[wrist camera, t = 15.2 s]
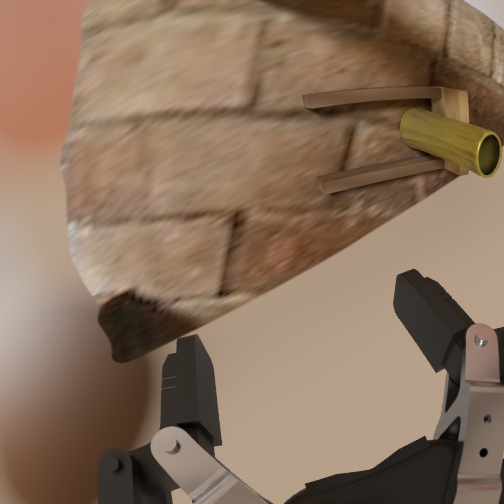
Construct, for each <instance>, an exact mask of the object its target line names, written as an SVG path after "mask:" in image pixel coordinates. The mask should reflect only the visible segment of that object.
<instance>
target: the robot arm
mask: <svg viewBox="0 0 504 504" xmlns="http://www.w3.org/2000/svg"><path fill="white" fill-rule="evenodd" d="M393 305H394V310H395V313H396V315H397V316H398V318H399V319H400V321H401V322H402V323H403V325H404V326H405V328H406V329H407V330H408V332H409V333H410V335H411V336H412V338H413V339H414V341H415V342H416V343H417V345H418V346H419V348H420V349H421V351H422V352H423V354H424V355H425V357H426V358H427V360H428V361H429V363H430V364H431V366H432V367H433V369H434V370H435V372H436V373H437V372H439V371H440V370H442V369H444V368H445V369H446V371H447V375H446V381H445V390H444V398H443V405H442V412H441V416H440V420H439V422H438V425H437V427H436V430H435V434H434V437H433V440H428V441H427V439H426V437H425V436H424V437H422V438H420V439H418V440H416V441H414V442H412V443H410V444H408V445H406V446H404V447H402V448H400V449H398V450H397V451H396V452H394V453H393V454H392V455H390V456H389V457H388V458H386V459H385V460H384V461H382V462H381V463H380V464H378V465H377V466H376V467H374V468H372V469H370V470H365V471H358V472H350V473H342V474H336V475H333V476H329V477H326V478H323V479H320V480H316V481H313V482H309V483H306V484H305V486H306V488H305V489H303V490H301V491H299V492H298V493H297V494H295V495H293V496H292V497H291V498H290V499H288V500H287V501H286V502H285V503H284V504H504V459H503V452H504V327H501V328H497V329H492V328H491V327H490V326H488V325H486V324H482V323H478V324H475V323H474V322H473V321H472V319H471V318H470V317H469V316H468V315H467V314H466V313H465V311H464V310H463V309H462V308H461V307H460V306H459V305H458V304H457V302H456V301H455V300H454V299H452V297H451V296H450V295H449V294H448V293H446V290H445V289H444V288H443V287H442V286H441V285H440V284H439V283H438V282H436V281H434V280H432V279H430V278H429V277H426V278H424V277H423V276H422V275H421V274H420V273H419V272H418V271H417V270H416V269H412V270H409V271H407V272H404V273H401V274H398V275H397V278H396V285H395V294H394V302H393ZM162 379H163V380H162V391H161V424H160V430H159V431H158V432H157V433H156V434H155V436H154V437H153V439H152V441H151V442H150V443H149V444H147V445H145V446H143V447H140V448H137V449H135V450H132V451H130V452H125V451H124V450H122V449H119V448H113V449H109V450H107V451H106V452H104V453H103V454H102V456H101V457H100V460H99V463H98V504H173V503H172V496H171V491H173V490H175V489H178V488H182V489H183V491H184V492H185V493H186V494H187V495H188V496H189V497H190V498H191V499H192V501H193V502H192V503H193V504H273V503H272V502H270V501H269V500H267V499H266V498H265V497H263V496H262V495H261V494H259V493H258V492H256V491H255V490H254V489H252V488H251V487H250V486H248V485H247V484H246V483H244V482H243V481H242V480H241V479H240V478H238V477H237V476H236V475H235V474H233V473H232V472H231V471H230V470H229V469H228V468H226V467H225V466H224V465H223V464H222V463H221V462H220V461H218V460H217V459H216V458H215V453H214V446H220V445H222V440H221V431H220V422H219V414H218V405H217V395H216V386H215V376H214V368H213V364H212V361H211V359H210V357H209V355H208V353H207V351H206V349H205V347H204V346H203V344H202V342H201V340H200V338H199V336H198V335H197V334H195V335H191V336H187V337H182V338H178V339H177V350H176V353H174V354H169V355H168V356H167V358H166V360H165V363H164V365H163V369H162Z"/></svg>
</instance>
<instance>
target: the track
mask: <svg viewBox="0 0 504 504" xmlns="http://www.w3.org/2000/svg"><path fill="white" fill-rule="evenodd" d="M302 97H303V102H304V107H305V108H311V109H313V108H319V107H326V106H333V105H341V104H349V103H358V102H368V101H380V100H394V99H416V98H431V105H432V113H435V114H438V115H440V116H443V117H446V118H450V119H454V120H458V121H462V122H465V123H468V124H469V108H468V94H467V91H464V90H458V89H452V88H445V87H433V86H400V87H376V88H361V89H349V90H339V91H331V92H322V93H315V94H308V95H302ZM442 168H445V169H447V170H449V171H451V172H453V173H455V174H457V175H459V176H462V175H466V174H468V171H469V170H468V169H466V168H464V167H462V166H459V165H457V164H455V163H452V162H450V161H447V160H445V159H442V158H440V157H437V156H435V155H432V154H431V155H425V156H419V157H413V158H407V159H402V160H396V161H391V162H385V163H380V164H375V165H370V166H365V167H360V168H355V169H351V170H346V171H341V172H337V173H332V174H328V175H323V176H319V177H316V178H317V186H318V189H320V190H321V191H322V192H323V193H324V194H329V193H333V192H338V191H342V190H346V189H350V188H354V187H359V186H363V185H367V184H372V183H376V182H381V181H385V180H390V179H394V178H399V177H404V176H408V175H413V174H418V173H423V172H427V171H432V170H437V169H442Z"/></svg>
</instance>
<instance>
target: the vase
mask: <svg viewBox="0 0 504 504" xmlns="http://www.w3.org/2000/svg"><path fill="white" fill-rule="evenodd" d="M400 133H401V137H402V139H403V141H404V142H405V144H406V145H407V146H409V147H411V148H414V149H419V150H422V151H425V152H427V153H430V154H432V155H435V156H437V157H440V158H442V159H445V160H447V161H450V162H452V163H455V164H457V165H459V166H462V167H464V168H466V169H468V170H470V171H472V172H474V173H476V174H478V175H480V176H483V177H486V178H487V177H491V176H493V175H494V174H495V172H496V171H497V169H498V167H499V165H500V162H501V158H502V145H501V141H500V139H499V137H498V136H497V135H496V134H495V133H494V132H492V131H490V130H487V129H484V128H481V127H478V126H475V125H471V124H468V123H465V122H462V121H458V120H454V119H450V118H446V117H443V116H440V115H438V114H435V113H432V112H429V111H426V110H423V109H421V108H417V107H414V108H410V109H409V110H407V111H406V112H405V114H404V115H403V116H402V119H401V122H400Z"/></svg>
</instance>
